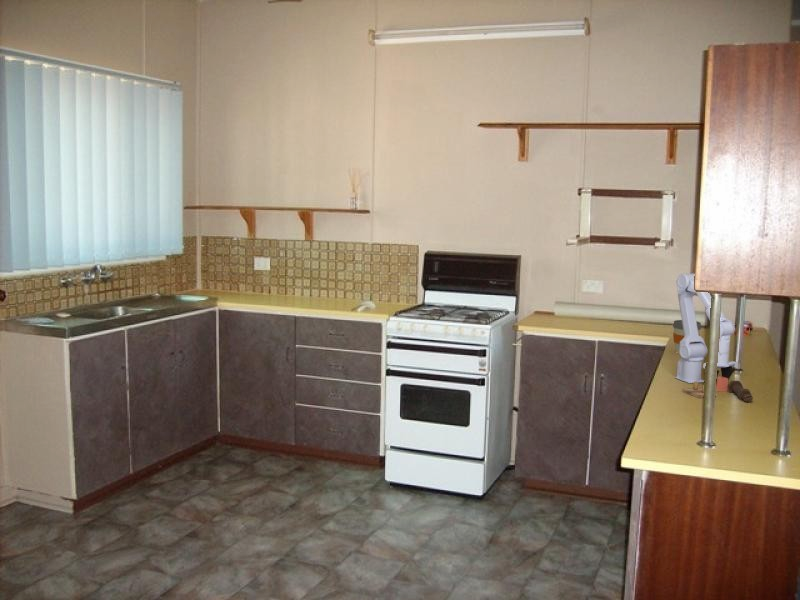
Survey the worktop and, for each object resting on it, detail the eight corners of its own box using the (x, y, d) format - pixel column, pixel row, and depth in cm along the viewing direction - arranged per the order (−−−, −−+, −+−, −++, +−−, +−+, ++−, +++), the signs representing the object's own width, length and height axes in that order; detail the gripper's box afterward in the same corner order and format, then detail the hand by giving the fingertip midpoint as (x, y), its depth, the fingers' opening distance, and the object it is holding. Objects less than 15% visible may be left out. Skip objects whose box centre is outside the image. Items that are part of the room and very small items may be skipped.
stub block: (682, 391, 307) (683, 381, 306) (699, 390, 310) (700, 379, 309) (699, 398, 298) (700, 387, 297) (717, 397, 300) (718, 386, 300)
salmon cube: (709, 388, 312) (710, 376, 312) (719, 388, 314) (720, 375, 313) (717, 391, 308) (718, 379, 307) (727, 390, 310) (728, 378, 309)
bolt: (745, 408, 293) (731, 396, 308) (758, 402, 292) (743, 390, 307) (738, 394, 292) (725, 383, 307) (751, 388, 292) (737, 377, 306)
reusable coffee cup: (703, 355, 374) (705, 324, 372) (677, 355, 374) (679, 324, 372) (692, 350, 387) (694, 320, 385) (667, 350, 386) (669, 319, 384)
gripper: (712, 354, 303) (710, 389, 305) (743, 353, 307) (741, 387, 309) (700, 351, 309) (698, 384, 311) (731, 349, 314) (728, 382, 316)
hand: (718, 385), depth 311 cm, fingers closed on salmon cube, 5 cm apart
